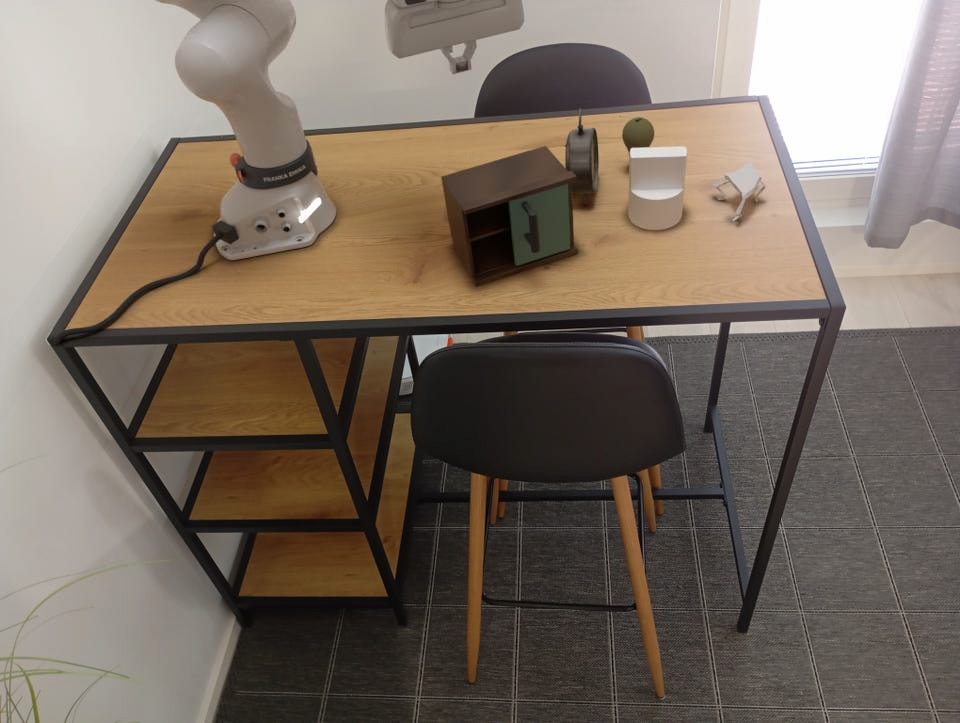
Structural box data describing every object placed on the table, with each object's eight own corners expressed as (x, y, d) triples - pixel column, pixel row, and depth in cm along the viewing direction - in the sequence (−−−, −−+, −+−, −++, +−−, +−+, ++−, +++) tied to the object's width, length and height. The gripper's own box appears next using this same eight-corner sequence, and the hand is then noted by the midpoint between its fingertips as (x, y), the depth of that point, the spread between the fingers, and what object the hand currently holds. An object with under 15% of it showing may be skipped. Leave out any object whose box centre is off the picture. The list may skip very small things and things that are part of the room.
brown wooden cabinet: (476, 287, 127) (464, 210, 116) (453, 247, 135) (440, 172, 124) (578, 254, 130) (576, 176, 119) (550, 217, 138) (545, 141, 127)
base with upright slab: (628, 230, 133) (629, 168, 124) (628, 199, 139) (629, 138, 130) (683, 229, 131) (688, 166, 123) (681, 198, 137) (686, 136, 129)
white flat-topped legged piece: (708, 186, 139) (711, 162, 135) (758, 184, 138) (762, 159, 134) (718, 227, 130) (721, 202, 127) (770, 225, 129) (775, 199, 126)
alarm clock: (594, 210, 138) (593, 126, 126) (563, 210, 139) (559, 126, 127) (600, 176, 145) (599, 93, 134) (570, 175, 146) (567, 93, 135)
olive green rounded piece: (645, 180, 143) (647, 129, 135) (616, 173, 145) (617, 124, 138) (657, 164, 146) (660, 114, 139) (629, 158, 148) (630, 109, 141)
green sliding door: (526, 281, 125) (520, 215, 116) (514, 263, 128) (507, 198, 119) (581, 263, 126) (579, 197, 117) (568, 246, 130) (565, 181, 121)
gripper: (511, -49, 113) (517, 46, 123) (373, -17, 109) (391, 78, 119) (528, -35, 108) (533, 62, 118) (385, -2, 105) (402, 95, 115)
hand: (460, 70), depth 119 cm, fingers closed
